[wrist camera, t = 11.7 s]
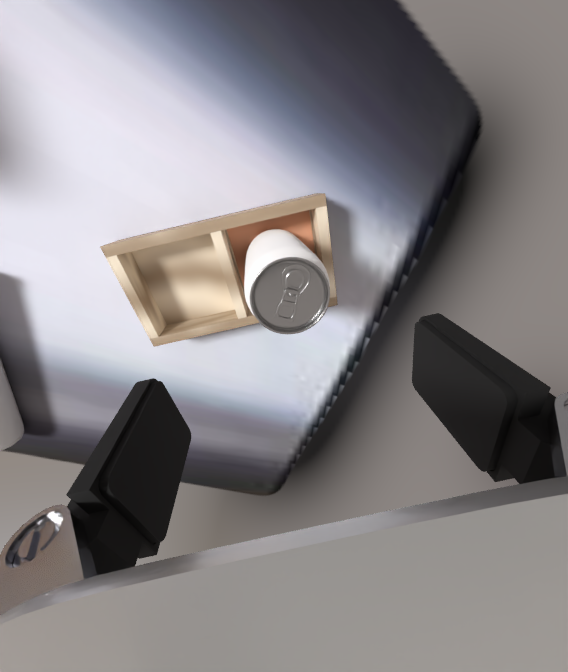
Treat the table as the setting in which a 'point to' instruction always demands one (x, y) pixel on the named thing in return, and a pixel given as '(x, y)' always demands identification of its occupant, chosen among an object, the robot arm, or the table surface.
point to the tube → (8, 414)
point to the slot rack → (209, 267)
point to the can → (285, 283)
